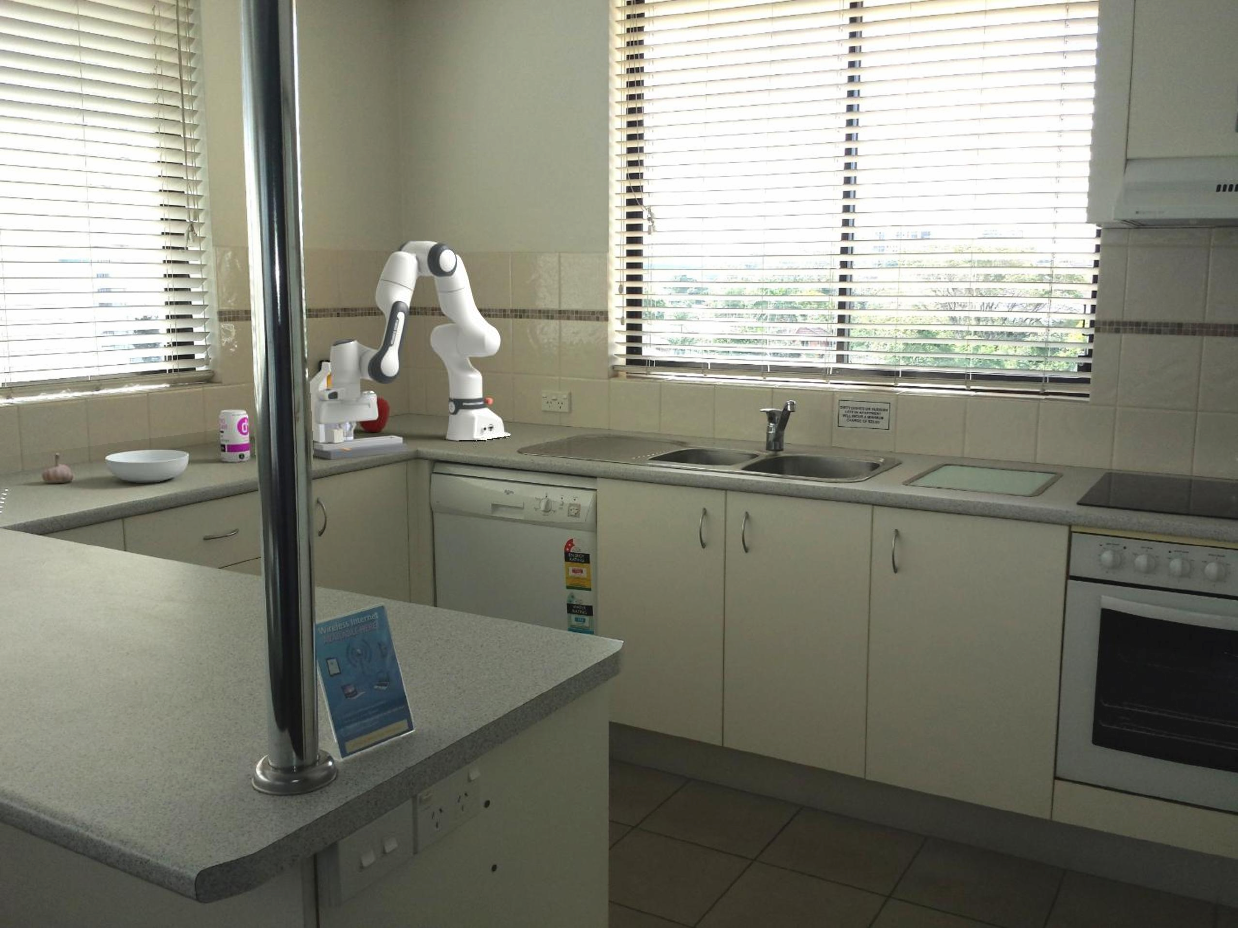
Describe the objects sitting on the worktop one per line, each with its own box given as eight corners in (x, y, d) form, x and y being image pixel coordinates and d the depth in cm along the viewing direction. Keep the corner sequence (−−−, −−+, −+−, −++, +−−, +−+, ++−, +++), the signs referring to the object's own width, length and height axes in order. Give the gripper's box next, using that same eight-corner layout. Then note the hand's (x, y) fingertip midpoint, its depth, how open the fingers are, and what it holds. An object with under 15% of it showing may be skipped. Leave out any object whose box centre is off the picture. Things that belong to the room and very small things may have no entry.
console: (387, 446, 369) (387, 434, 368) (409, 451, 358) (408, 439, 358) (309, 454, 352) (308, 441, 351) (329, 459, 341) (328, 446, 340)
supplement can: (255, 459, 341) (253, 410, 339) (238, 463, 334) (235, 413, 331) (233, 457, 344) (230, 408, 342) (215, 461, 336) (212, 411, 334)
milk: (352, 439, 384) (350, 363, 380) (319, 442, 378) (316, 364, 374) (340, 435, 394) (337, 361, 390) (307, 438, 388) (304, 362, 383)
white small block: (336, 445, 352) (335, 427, 351) (343, 447, 348) (343, 428, 348) (327, 446, 350) (326, 428, 349) (334, 448, 347) (334, 429, 346)
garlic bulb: (78, 482, 302) (76, 453, 300) (49, 486, 296) (47, 456, 295) (66, 479, 306) (64, 450, 305) (37, 483, 301) (35, 453, 300)
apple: (349, 432, 403) (348, 395, 400) (373, 429, 412) (372, 392, 410) (372, 435, 396) (371, 397, 394) (397, 431, 405) (396, 394, 403)
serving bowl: (106, 489, 292) (104, 463, 291) (107, 476, 311) (105, 452, 310) (192, 484, 300) (190, 458, 299) (187, 472, 319) (186, 447, 318)
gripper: (371, 389, 358) (372, 432, 361) (310, 393, 345) (312, 438, 348) (381, 391, 354) (382, 434, 356) (319, 395, 341) (321, 440, 343)
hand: (347, 436), depth 352 cm, fingers closed
